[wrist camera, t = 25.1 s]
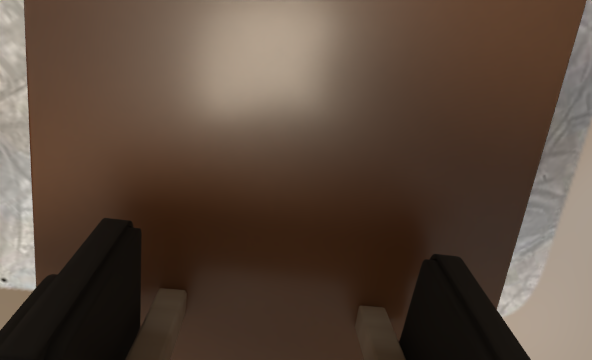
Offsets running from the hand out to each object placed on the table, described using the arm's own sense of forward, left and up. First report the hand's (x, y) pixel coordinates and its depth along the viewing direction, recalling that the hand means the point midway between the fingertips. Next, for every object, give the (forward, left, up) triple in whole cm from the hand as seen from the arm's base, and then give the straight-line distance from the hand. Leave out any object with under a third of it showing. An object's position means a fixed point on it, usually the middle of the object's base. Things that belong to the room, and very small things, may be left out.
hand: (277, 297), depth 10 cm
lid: (-2, -3, -2) cm, 4 cm away
